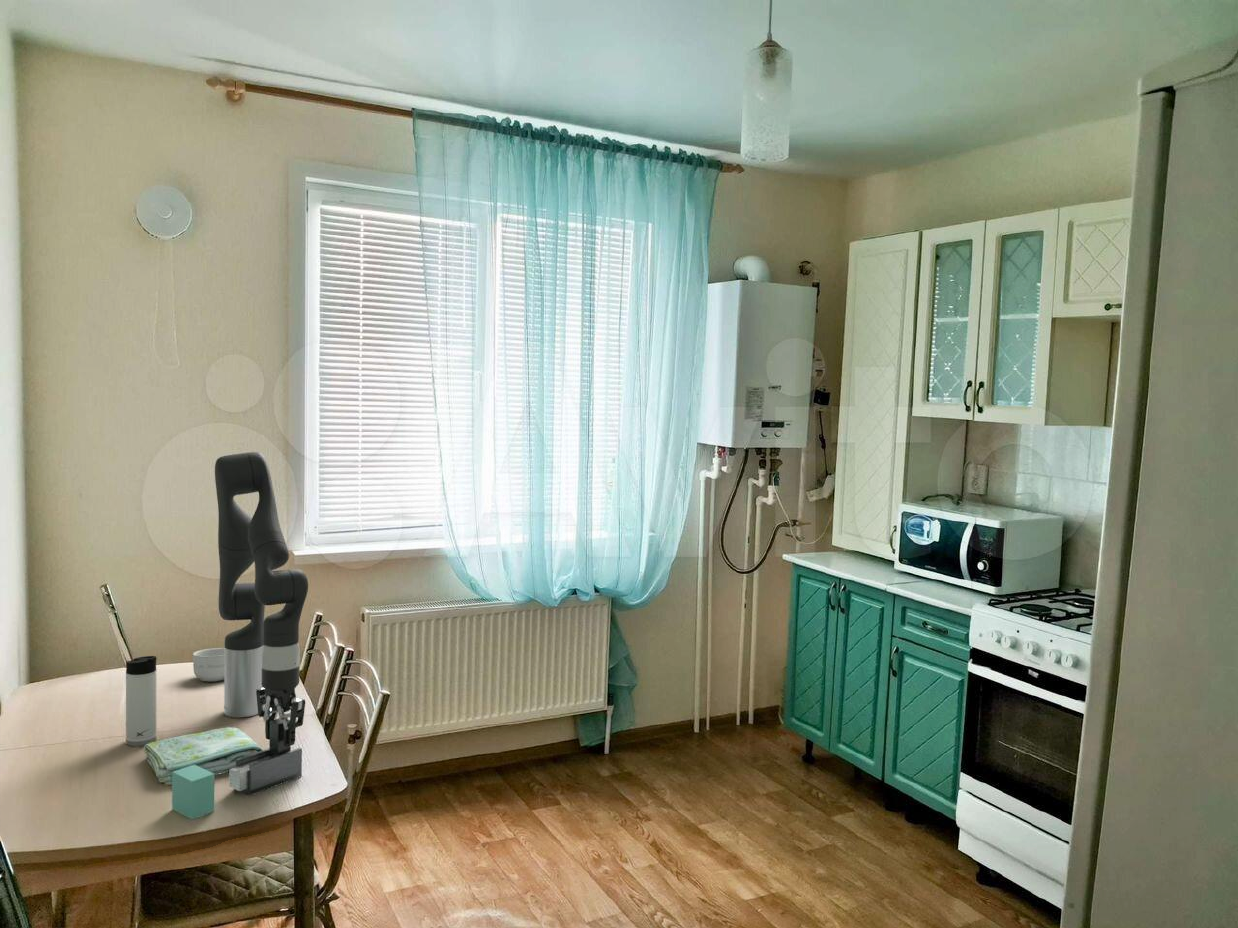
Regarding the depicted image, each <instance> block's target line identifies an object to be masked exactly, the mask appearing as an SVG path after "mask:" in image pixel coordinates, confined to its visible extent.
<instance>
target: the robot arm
mask: <svg viewBox="0 0 1238 928" xmlns="http://www.w3.org/2000/svg"><path fill="white" fill-rule="evenodd" d="M214 482H215V489H216V490H215V491H216V498H217V499H216V500H217V509H218V512H217V513H218V525H217V526H218V527H217V528H218V533H217V534H218V535H217V537H218V538H217V539H218V540H217V544H218V545H217V546H218V558H219V585H218V586H219V587H218V611H219V612H218V613H219V615H220V617H221V619H223V620H224V621H246V620H247V621H249V620H250V622H249V623H247V624H246V625H245V626H243V627H242V628H239V629H236V630H234V631H232V632H230V633H228V634H227V635H226V636H225V637H224V648H225V671H224V679H223V681H224V687H223V688H224V690H223V692H224V696H223V698H224V701H223V702H224V703H223V709H224V711H223V712H224V715H225V716H226V717H230V718H249V717H254V716H256V715H257V716H258V717H259V718H262V719H263V722H264V724H265V725H264V726H265V729H264V732H265V733H264V734H265V739H266V740H269V737H270V721H272V720H275V719H277V717H279V718H280V719H282V721H283V725H284V728H285V729H284V746H286V747H288V746H290V747H292V746H294V745H295V743H296V728H298V727H301V726H303V724H304V718H305V717H304V716H305V709H306V708H305V707H306V699H304V698H301V699H299V698H297V695H296V689H297V687H298V686H299V684H300V668H301V667H300V665H301V663H300V662H301V661H300V660H301V659H300V658H301V657H300V656H301V654H300V653H301V652H300V643H299V639H300V637H299V633H300V630H299V629H300V627H299V625H300V620H301V616H302V612H303V608H304V605H305V602H306V599H307V595H308V591H309V580H308V577H307V575H306V573H305V572H304V571H303V570H301V569H299V568H291V569H283V570H282V569H281V570H277V569H279V568H281V567H283V566H284V565H286V563H287V562H288V561H289V558H290V552H289V550H288V547H287V543H286V540H285V538H284V535H283V532H282V529H281V525H280V522H279V516H278V510H277V502H276V497H275V493H274V488H273V481H272V477H271V473H270V467H269V465H268V462H267V458H266V457H265V456H264V454H263V453H261V452H259V451H252V452H251V451H250V452H242V453H235V454H234V453H233V454H227V455H223V456H220V457H218V458H217V459H216V460H215V465H214ZM257 492H258V504H257V506H256V508H255V511H254V514H253V515H252V517H251V515H249V513H247V512H246V511H245V510H244V509H242V508H241V506H239V504H238V503H237V502H236V500H235V496H239V495H246V494H252V493H257ZM252 564H254V573H255V574H254V576H255V577H254V578H255V579H254V582H245V583H244V582H243V583H237V582H238V579H239V578H240V577H241V576H242V575H243V574H244V573H245V572H246V571H247V570H248V569H249V568H250V567H251V566H252ZM283 604H284V607H283V608H282V609H281V610H279V611H278V612H276V613H273V614H270V615H268V616H266V617H265V608H266V606H274V605H275V606H276V605H283ZM289 711H290V712H289ZM288 712H289V713H288ZM288 718H289V719H288ZM288 720H290V723H289V722H288Z"/></svg>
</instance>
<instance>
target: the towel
mask: <svg viewBox="0 0 1238 928" xmlns="http://www.w3.org/2000/svg"><path fill="white" fill-rule="evenodd" d="M262 750H263V748H262V746H260V745H258V743H257V742H255V741H254V739H252V738H251V737H250V736H249V735H248V734H247V733H245V732H244V731H243V730H241V729H240V728H237V727H220V728H215V729H209V730H206V731H201V732H196V733H195V732H194V733H189V734H183V735H179V736H174V737H169V738H166V739H161V740H155V741H154V742H151V743H149V744H146V745H144V746H143V752H144V754H145V755H146V761H147V763H148V764H149V766H150V767H151V768H152V770H153V771H154V773H155V775H156V778H157V779H158V782H159V783H161V784H162V783H164V784H163V785H166V786H168V785H172V772H173V771H176V770H179V769H183V768H186V767H189V766H192V765H196V766H198V767H201V768H203V769H205V770H207V771H209V772H212V773H214V776H216V775H215V774H217V775H220V774H219V773H222V774H225V773H224V772H227V773H229V772H228V771H229V769H231V768H234V767H236V759H238V758H241V757H244V756H247V755H250V754H253V753H256V752H259V751H262Z"/></svg>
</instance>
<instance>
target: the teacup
mask: <svg viewBox="0 0 1238 928" xmlns="http://www.w3.org/2000/svg"><path fill="white" fill-rule="evenodd" d="M192 657H193V660H192V661H193V673H194V676H195V677H196V678H198V679H199V680H200V681H202V682H219V681H224V671H225V647H216V648H205V649H201V650H198V651H194V652H193V653H192Z"/></svg>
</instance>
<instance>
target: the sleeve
mask: <svg viewBox="0 0 1238 928" xmlns="http://www.w3.org/2000/svg"><path fill="white" fill-rule="evenodd" d="M266 756H269V748H266V749H262V751H259V752H256V753H253V754H250V755H247V756H244V757H241V758H238V759H236V767H237V766H240V765H243V764H246V763H249V762H252V761H255V760H258V759H261V758H264V757H266ZM302 761H303V748H301V747H297V748H294V749H291V751H288V752H285V753H282V754H280V755H277V756H274V757H271V758H268V759H265V760H262V761H259V762H256V763H254V764H251V765H249V768H250V777H249V788H247V789H244V790H241V791H240V792H243V793H245V794H248V795H250V796H252V795H256V794H258V793H262V792H263V791H264V792H265V791H266V790H269V789H271V787H272V788H275V787H277V786H279V784H280V785H282V784H285V783H287V782H286V781H288V782H290V781H292V779H293V780H295V778H296V779H298V778H300V777H299V776H301V777H302V771H303V770H302V769H303V768H302V766H303V763H302ZM297 777H298V778H297ZM289 780H290V781H289ZM284 782H285V783H284ZM281 783H282V784H281ZM276 785H277V786H276ZM268 788H269V789H268Z"/></svg>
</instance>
